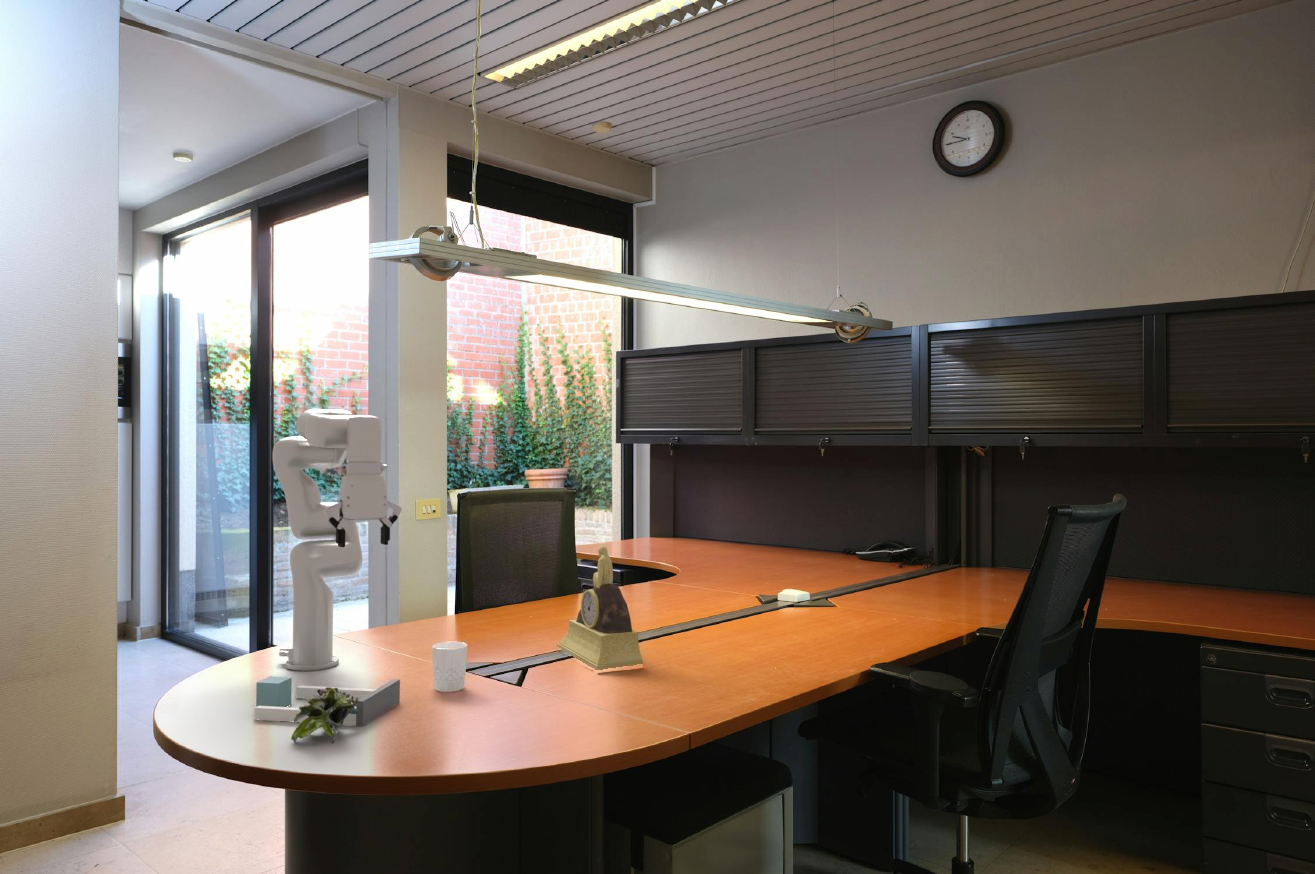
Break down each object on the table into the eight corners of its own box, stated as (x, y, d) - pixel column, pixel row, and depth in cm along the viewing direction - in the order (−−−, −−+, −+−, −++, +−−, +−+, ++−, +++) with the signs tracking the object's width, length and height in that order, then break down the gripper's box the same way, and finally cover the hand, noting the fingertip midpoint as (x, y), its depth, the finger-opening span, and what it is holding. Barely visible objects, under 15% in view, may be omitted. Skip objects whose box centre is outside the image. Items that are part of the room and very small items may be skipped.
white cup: (432, 694, 200) (433, 650, 200) (431, 685, 207) (431, 642, 208) (467, 691, 202) (468, 648, 202) (465, 682, 210) (466, 640, 210)
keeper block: (256, 710, 186) (256, 682, 186) (269, 704, 191) (270, 676, 191) (278, 712, 186) (278, 683, 186) (291, 705, 190) (291, 677, 191)
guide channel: (254, 720, 180) (254, 695, 180) (299, 696, 197) (300, 674, 197) (363, 726, 176) (363, 701, 177) (399, 702, 193) (399, 679, 193)
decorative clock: (556, 650, 244) (557, 542, 244) (599, 646, 250) (600, 540, 250) (597, 674, 219) (598, 553, 219) (643, 669, 225) (644, 551, 225)
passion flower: (326, 759, 173) (359, 702, 179) (343, 765, 165) (377, 704, 170) (275, 734, 169) (310, 676, 174) (290, 738, 160) (326, 677, 166)
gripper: (395, 469, 208) (395, 542, 208) (319, 470, 198) (319, 546, 198) (406, 470, 202) (406, 544, 202) (329, 470, 192) (328, 549, 192)
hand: (363, 545), depth 200 cm, fingers open, 9 cm apart
